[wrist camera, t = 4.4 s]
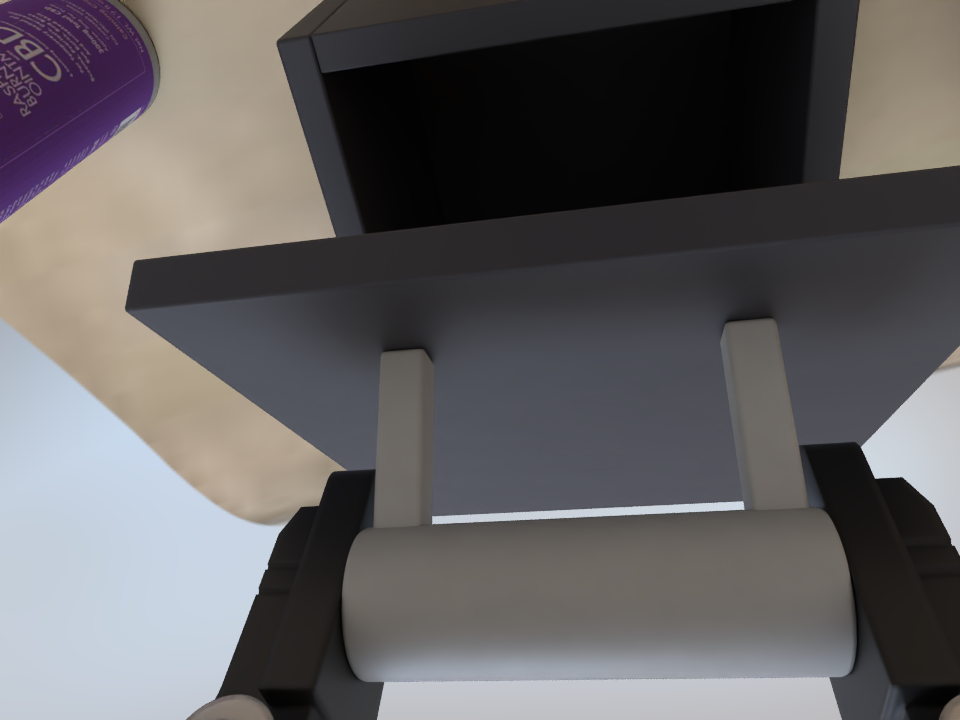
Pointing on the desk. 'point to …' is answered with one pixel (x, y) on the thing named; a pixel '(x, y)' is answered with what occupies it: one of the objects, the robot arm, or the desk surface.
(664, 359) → the lid
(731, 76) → the dark grey open box
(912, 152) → the desk surface
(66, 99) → the container
